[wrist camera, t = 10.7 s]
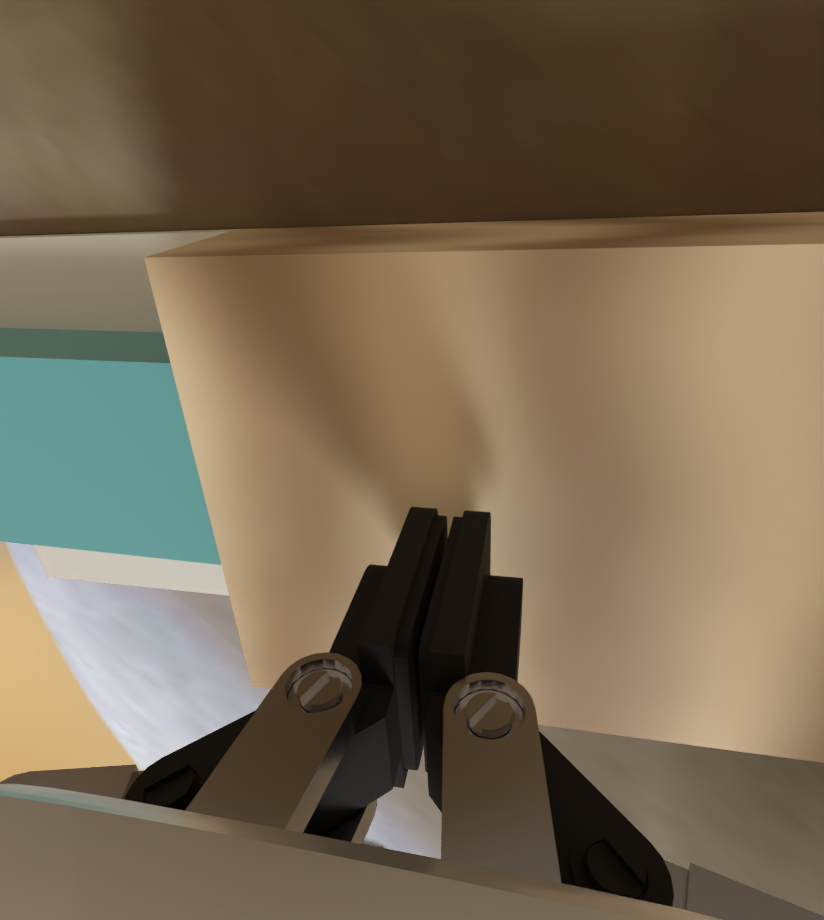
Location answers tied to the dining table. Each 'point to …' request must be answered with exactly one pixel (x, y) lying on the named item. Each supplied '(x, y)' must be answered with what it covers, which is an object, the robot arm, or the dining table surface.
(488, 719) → the robot arm
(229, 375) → the tan wooden flat block
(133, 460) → the teal rectangular slab
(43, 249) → the mat
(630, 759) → the dining table surface
